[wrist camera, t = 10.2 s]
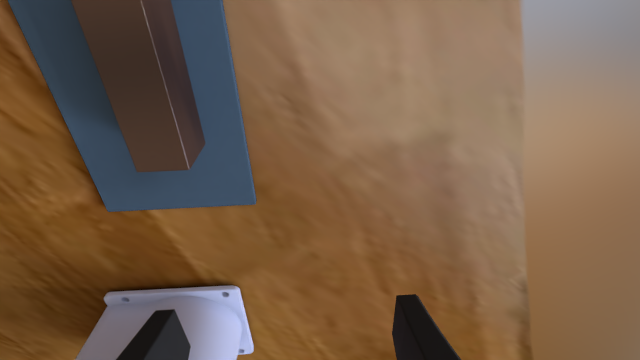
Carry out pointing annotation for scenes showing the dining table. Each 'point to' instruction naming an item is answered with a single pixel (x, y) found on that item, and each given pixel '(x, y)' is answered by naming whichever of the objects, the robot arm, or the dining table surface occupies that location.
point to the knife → (145, 79)
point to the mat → (101, 124)
